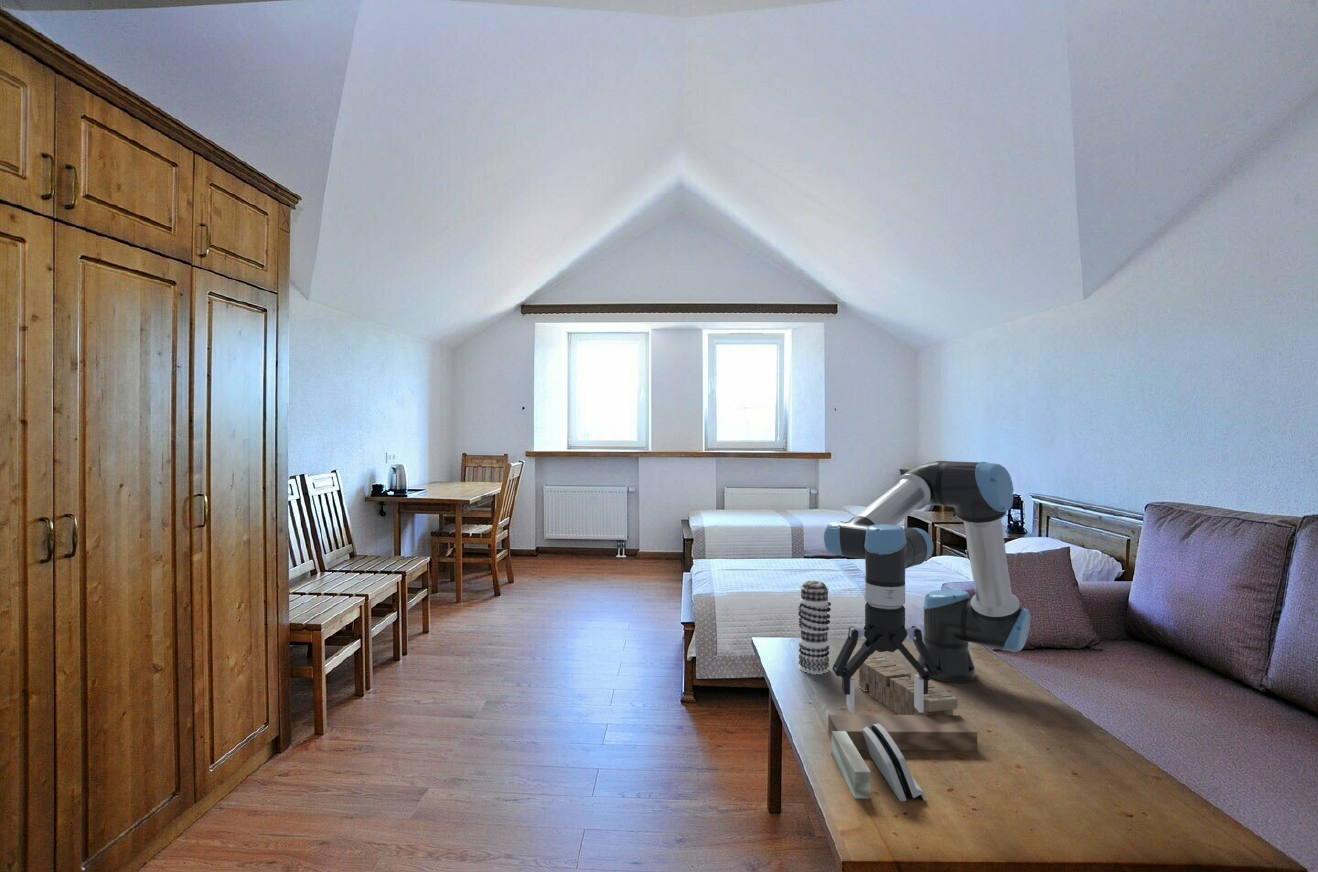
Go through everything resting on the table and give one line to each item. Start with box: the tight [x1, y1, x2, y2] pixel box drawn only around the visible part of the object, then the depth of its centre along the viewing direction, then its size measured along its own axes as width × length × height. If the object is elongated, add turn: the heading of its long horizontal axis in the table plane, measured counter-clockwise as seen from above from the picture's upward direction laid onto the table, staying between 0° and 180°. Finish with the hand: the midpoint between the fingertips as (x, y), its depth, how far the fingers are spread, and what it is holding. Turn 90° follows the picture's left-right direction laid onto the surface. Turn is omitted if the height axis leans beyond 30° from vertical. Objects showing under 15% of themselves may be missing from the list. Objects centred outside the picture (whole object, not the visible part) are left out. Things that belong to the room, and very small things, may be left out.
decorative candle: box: [797, 580, 832, 675], centre depth 182 cm, size 9×9×25 cm
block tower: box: [858, 655, 959, 715], centre depth 158 cm, size 8×8×29 cm
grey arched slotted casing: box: [862, 724, 927, 802], centre depth 126 cm, size 17×5×10 cm, turn 0°
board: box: [827, 714, 978, 799], centre depth 132 cm, size 32×26×5 cm
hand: (884, 710), depth 126 cm, fingers open, 13 cm apart
